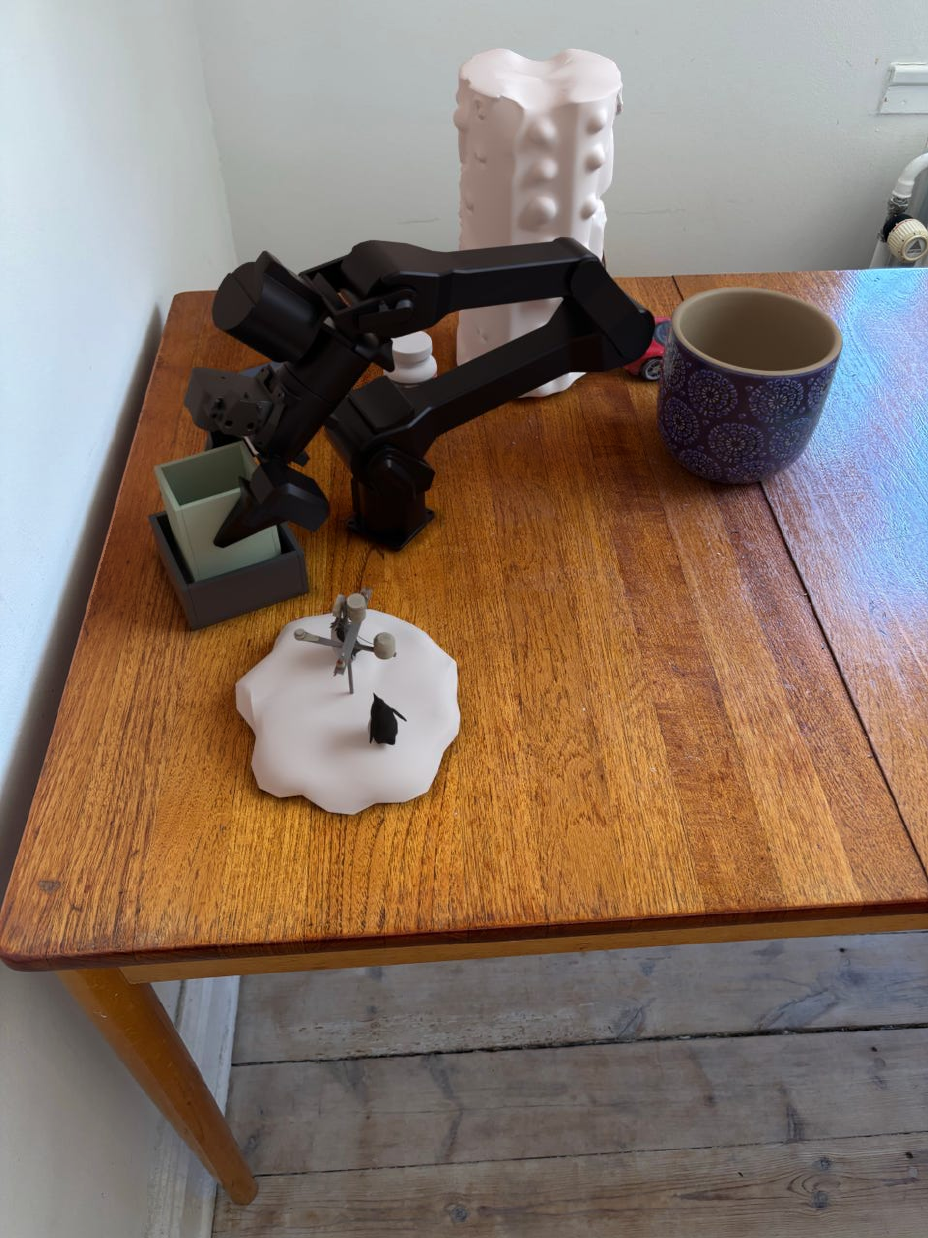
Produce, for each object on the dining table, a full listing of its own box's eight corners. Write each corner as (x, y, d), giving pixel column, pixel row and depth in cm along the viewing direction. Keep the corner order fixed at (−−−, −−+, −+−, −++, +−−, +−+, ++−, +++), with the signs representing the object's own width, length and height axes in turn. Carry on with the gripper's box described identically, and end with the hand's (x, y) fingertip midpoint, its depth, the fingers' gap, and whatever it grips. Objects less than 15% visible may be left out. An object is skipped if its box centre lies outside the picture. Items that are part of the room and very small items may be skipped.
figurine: (242, 620, 88) (213, 486, 75) (449, 610, 90) (455, 477, 77) (231, 829, 76) (193, 712, 63) (471, 813, 78) (482, 696, 65)
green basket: (261, 533, 97) (243, 439, 89) (285, 576, 93) (268, 482, 85) (180, 559, 94) (153, 466, 86) (201, 604, 90) (174, 511, 82)
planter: (664, 395, 115) (687, 273, 104) (812, 425, 111) (851, 302, 100) (631, 481, 104) (653, 354, 93) (794, 518, 100) (836, 390, 90)
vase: (456, 322, 125) (458, 37, 102) (587, 326, 125) (618, 41, 102) (449, 401, 114) (450, 99, 90) (594, 405, 113) (631, 104, 90)
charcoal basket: (269, 521, 99) (262, 481, 95) (309, 592, 92) (304, 552, 89) (158, 555, 96) (147, 515, 92) (192, 631, 89) (181, 591, 85)
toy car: (600, 340, 123) (604, 303, 119) (774, 337, 124) (784, 300, 120) (612, 384, 116) (617, 346, 113) (796, 380, 117) (807, 342, 114)
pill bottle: (445, 430, 110) (445, 349, 103) (395, 441, 108) (392, 360, 101) (427, 402, 113) (425, 322, 106) (379, 412, 112) (374, 332, 105)
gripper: (200, 284, 84) (99, 428, 88) (276, 400, 72) (156, 558, 77) (299, 346, 92) (202, 475, 97) (381, 459, 81) (267, 599, 85)
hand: (205, 521), depth 89 cm, fingers closed on green basket, 6 cm apart
